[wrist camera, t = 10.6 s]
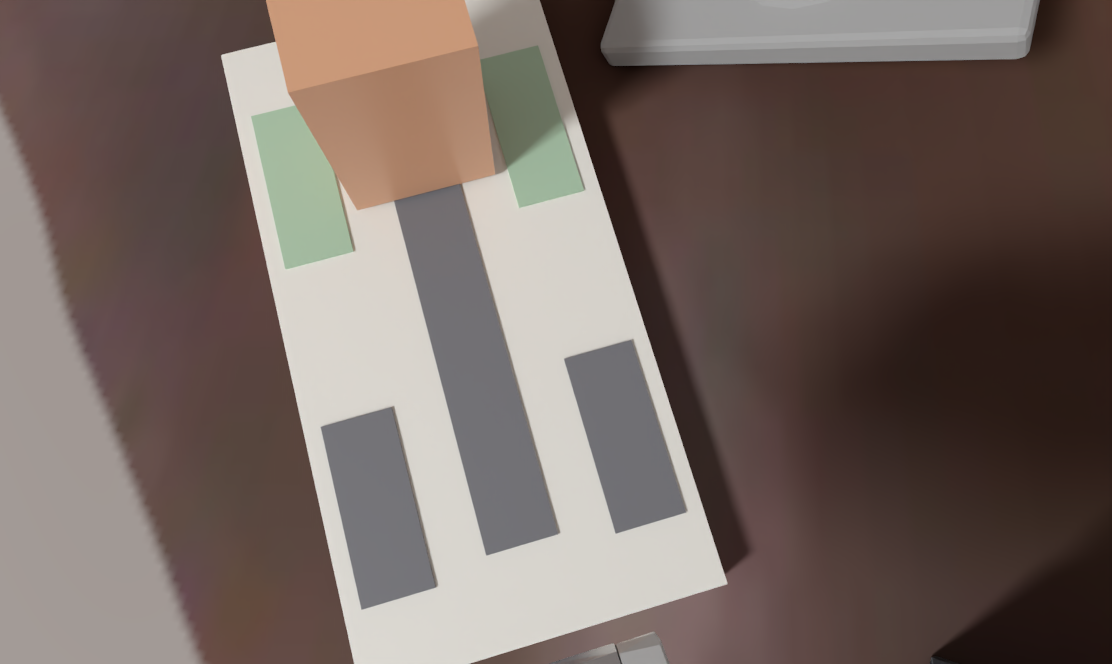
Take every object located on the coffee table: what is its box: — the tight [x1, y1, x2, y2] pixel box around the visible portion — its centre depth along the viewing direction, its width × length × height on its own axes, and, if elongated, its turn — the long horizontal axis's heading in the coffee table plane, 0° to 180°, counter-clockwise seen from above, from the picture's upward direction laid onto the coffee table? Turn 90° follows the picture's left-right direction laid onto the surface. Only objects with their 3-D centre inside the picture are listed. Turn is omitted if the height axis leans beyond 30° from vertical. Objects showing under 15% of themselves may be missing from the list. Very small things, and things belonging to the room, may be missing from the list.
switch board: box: [221, 0, 727, 664], centre depth 29 cm, size 12×23×2 cm, turn 16°
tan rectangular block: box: [266, 0, 495, 210], centre depth 25 cm, size 5×4×8 cm
